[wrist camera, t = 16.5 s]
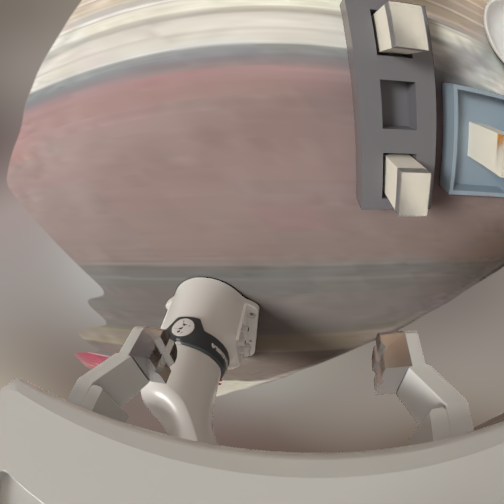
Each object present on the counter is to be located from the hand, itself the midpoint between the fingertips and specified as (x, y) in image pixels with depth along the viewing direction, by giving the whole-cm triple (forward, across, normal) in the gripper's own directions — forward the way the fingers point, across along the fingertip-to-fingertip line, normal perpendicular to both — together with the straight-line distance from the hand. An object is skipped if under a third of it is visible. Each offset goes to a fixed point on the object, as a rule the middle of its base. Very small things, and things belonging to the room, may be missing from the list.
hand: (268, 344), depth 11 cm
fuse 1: (+30, +13, +15) cm, 36 cm away
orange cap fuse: (+30, +27, +2) cm, 41 cm away
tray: (+31, +27, +2) cm, 41 cm away
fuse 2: (+30, +13, -3) cm, 33 cm away
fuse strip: (+31, +13, +6) cm, 34 cm away
